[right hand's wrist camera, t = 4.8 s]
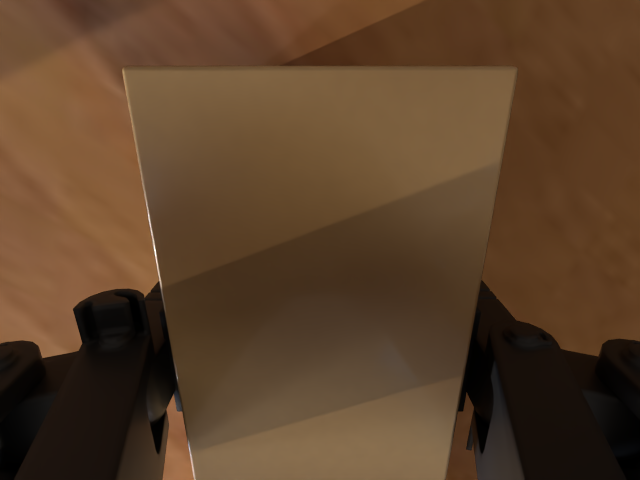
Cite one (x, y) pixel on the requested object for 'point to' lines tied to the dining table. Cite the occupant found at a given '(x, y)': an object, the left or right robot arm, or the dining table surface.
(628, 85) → the dining table surface
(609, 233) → the dining table surface
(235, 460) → the beam
